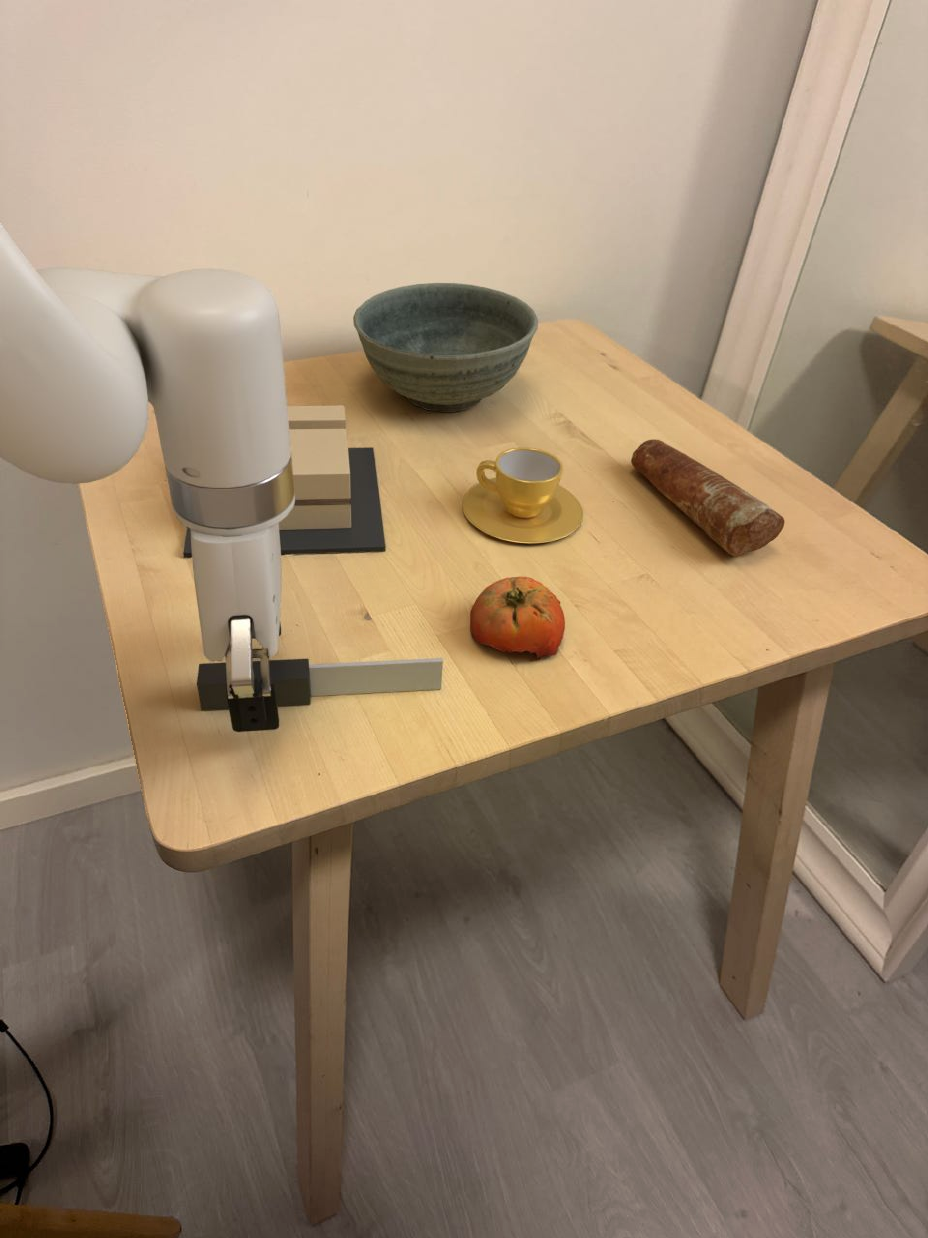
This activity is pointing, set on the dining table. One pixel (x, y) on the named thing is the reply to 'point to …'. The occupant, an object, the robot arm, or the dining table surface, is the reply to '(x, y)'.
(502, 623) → the tomato
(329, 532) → the cake
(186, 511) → the robot arm
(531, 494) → the cup
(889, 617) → the dining table surface
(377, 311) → the bowl
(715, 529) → the salami
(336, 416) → the slice
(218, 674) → the knife
